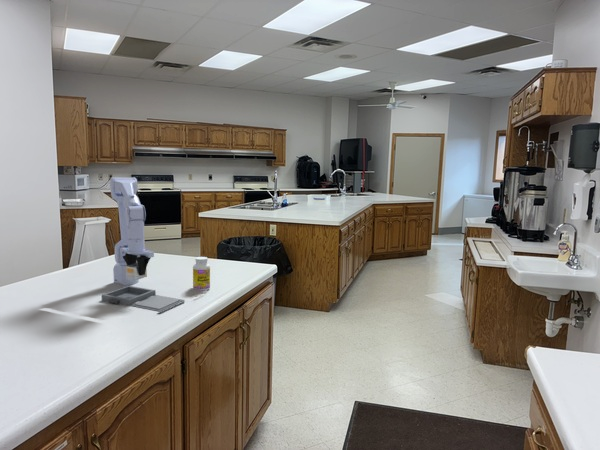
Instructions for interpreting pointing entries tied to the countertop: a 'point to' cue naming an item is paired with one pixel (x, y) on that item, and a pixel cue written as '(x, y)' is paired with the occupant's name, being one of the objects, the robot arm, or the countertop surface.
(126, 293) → the case
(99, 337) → the countertop surface
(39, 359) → the countertop surface
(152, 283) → the countertop surface
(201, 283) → the supplement bottle
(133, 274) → the block
